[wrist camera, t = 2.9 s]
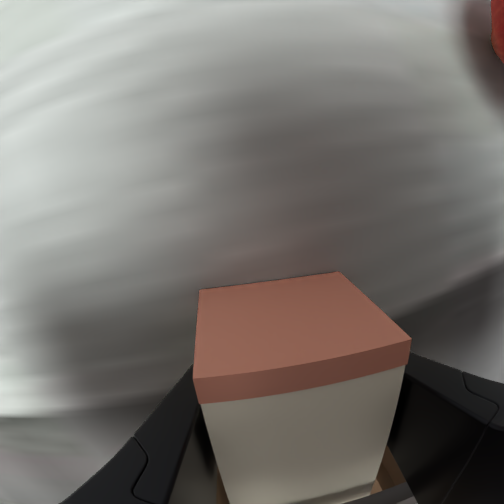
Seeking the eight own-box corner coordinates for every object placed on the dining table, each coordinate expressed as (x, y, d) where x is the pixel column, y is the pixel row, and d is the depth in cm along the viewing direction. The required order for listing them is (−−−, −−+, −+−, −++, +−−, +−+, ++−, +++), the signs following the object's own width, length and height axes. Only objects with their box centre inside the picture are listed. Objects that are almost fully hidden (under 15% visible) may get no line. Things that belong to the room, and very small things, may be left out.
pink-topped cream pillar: (321, 508, 13) (340, 563, 9) (248, 521, 13) (257, 580, 9) (339, 271, 9) (411, 339, 5) (199, 289, 9) (193, 378, 5)
